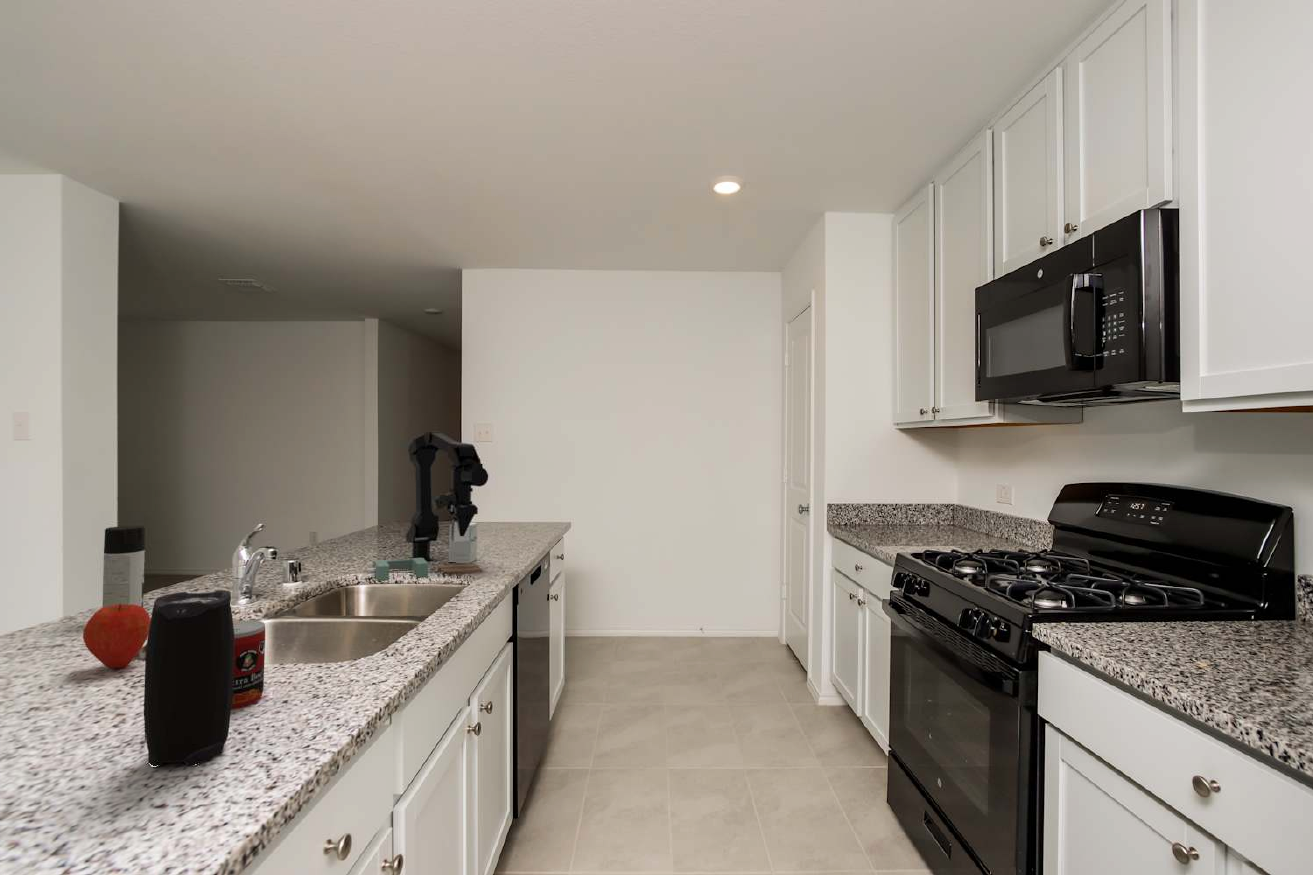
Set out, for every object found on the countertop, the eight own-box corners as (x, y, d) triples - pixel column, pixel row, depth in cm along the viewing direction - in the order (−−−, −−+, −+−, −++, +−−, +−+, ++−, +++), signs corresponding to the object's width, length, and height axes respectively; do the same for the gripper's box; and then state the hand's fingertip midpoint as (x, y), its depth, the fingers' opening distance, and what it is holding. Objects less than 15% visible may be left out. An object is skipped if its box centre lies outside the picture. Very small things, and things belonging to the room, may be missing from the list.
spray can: (149, 620, 134) (152, 526, 135) (111, 628, 128) (114, 530, 129) (132, 615, 137) (135, 524, 138) (94, 623, 131) (97, 527, 131)
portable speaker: (240, 733, 83) (245, 586, 84) (214, 768, 74) (220, 603, 75) (163, 741, 81) (168, 589, 81) (127, 778, 72) (133, 607, 72)
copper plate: (437, 568, 195) (438, 565, 195) (473, 566, 201) (473, 562, 201) (444, 575, 186) (444, 571, 186) (481, 572, 191) (481, 569, 191)
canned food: (217, 716, 88) (219, 637, 89) (191, 702, 93) (193, 628, 93) (274, 698, 95) (276, 625, 95) (247, 686, 99) (249, 616, 99)
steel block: (451, 539, 194) (451, 520, 194) (466, 538, 196) (466, 519, 197) (454, 541, 190) (454, 521, 190) (469, 540, 193) (469, 521, 193)
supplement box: (470, 563, 205) (471, 525, 205) (447, 563, 205) (448, 524, 205) (477, 559, 212) (478, 522, 212) (455, 559, 212) (456, 521, 212)
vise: (363, 571, 189) (364, 558, 189) (420, 567, 196) (420, 554, 196) (367, 581, 175) (367, 567, 175) (427, 576, 183) (428, 563, 183)
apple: (70, 678, 101) (72, 611, 101) (101, 661, 109) (103, 598, 109) (133, 674, 103) (135, 608, 103) (159, 657, 111) (161, 596, 112)
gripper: (429, 482, 198) (428, 532, 198) (439, 486, 182) (438, 540, 181) (465, 482, 203) (464, 530, 203) (478, 486, 187) (477, 538, 187)
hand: (460, 535), depth 193 cm, fingers closed on steel block, 4 cm apart
